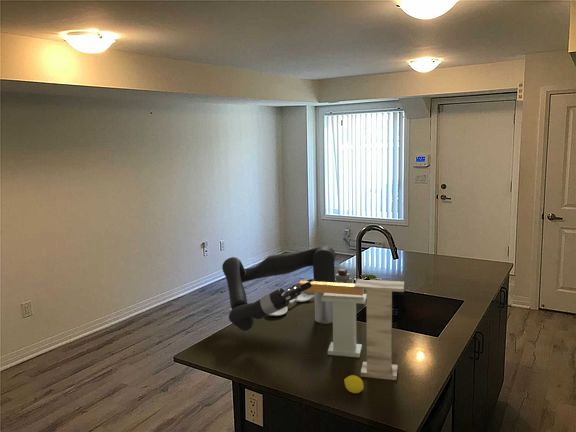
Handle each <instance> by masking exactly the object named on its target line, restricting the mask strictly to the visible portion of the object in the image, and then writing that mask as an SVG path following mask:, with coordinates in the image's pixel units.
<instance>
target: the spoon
mask: <svg viewBox="0 0 576 432" xmlns="http://www.w3.org/2000/svg"><path fill="white" fill-rule="evenodd" d="M313 298H315V294H310V295H309V294H306V293H305V292H303V293H301V294H300V295H298V296H297V297H296V298H293V299H292V300H290V301H289V305H290V304H294V302H300V303H304V302H307V301H309V300H311V299H313ZM287 312H288V306H287V307H285V308H283V309H281V310H279V311H277V312H275V313H272V314H269V315H268V316H270V317H271V316H272V317H273V316H274V317H278V316H279V317H280V316H282V315H285V314H286V313H287Z"/></svg>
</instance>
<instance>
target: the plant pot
mask: <svg viewBox="0 0 576 432" xmlns="http://www.w3.org/2000/svg"><path fill="white" fill-rule="evenodd" d="M361 275H362V278H363V279H364V278H365V277H369V279H370V280H378V276H377V275H375V274H369V273H368V274H367V273H366V274H361ZM364 292H365V294H367V293H366V290H364Z"/></svg>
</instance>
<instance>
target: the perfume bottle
mask: <svg viewBox="0 0 576 432" xmlns="http://www.w3.org/2000/svg"><path fill="white" fill-rule="evenodd" d="M335 283H348V284H353V278H352V277H351V273H348V269H346V268H339V269H338V270H337V273H336V274H335Z"/></svg>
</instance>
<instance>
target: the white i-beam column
mask: <svg viewBox="0 0 576 432" xmlns="http://www.w3.org/2000/svg"><path fill="white" fill-rule="evenodd" d="M321 301H328V302H332V305H333V323H332V340H333V341H330V344H329V345H328V349H327V355H329V356H330V355H331V356H339V357H352V358H360V357H361V353H362V349H363V344H361V343H357V304H361V305H362V304H363V305H365V304H366V302H367V294H364V293H363V296H362V295H348V294H333V293H324V295H323V296H322V298H321Z"/></svg>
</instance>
